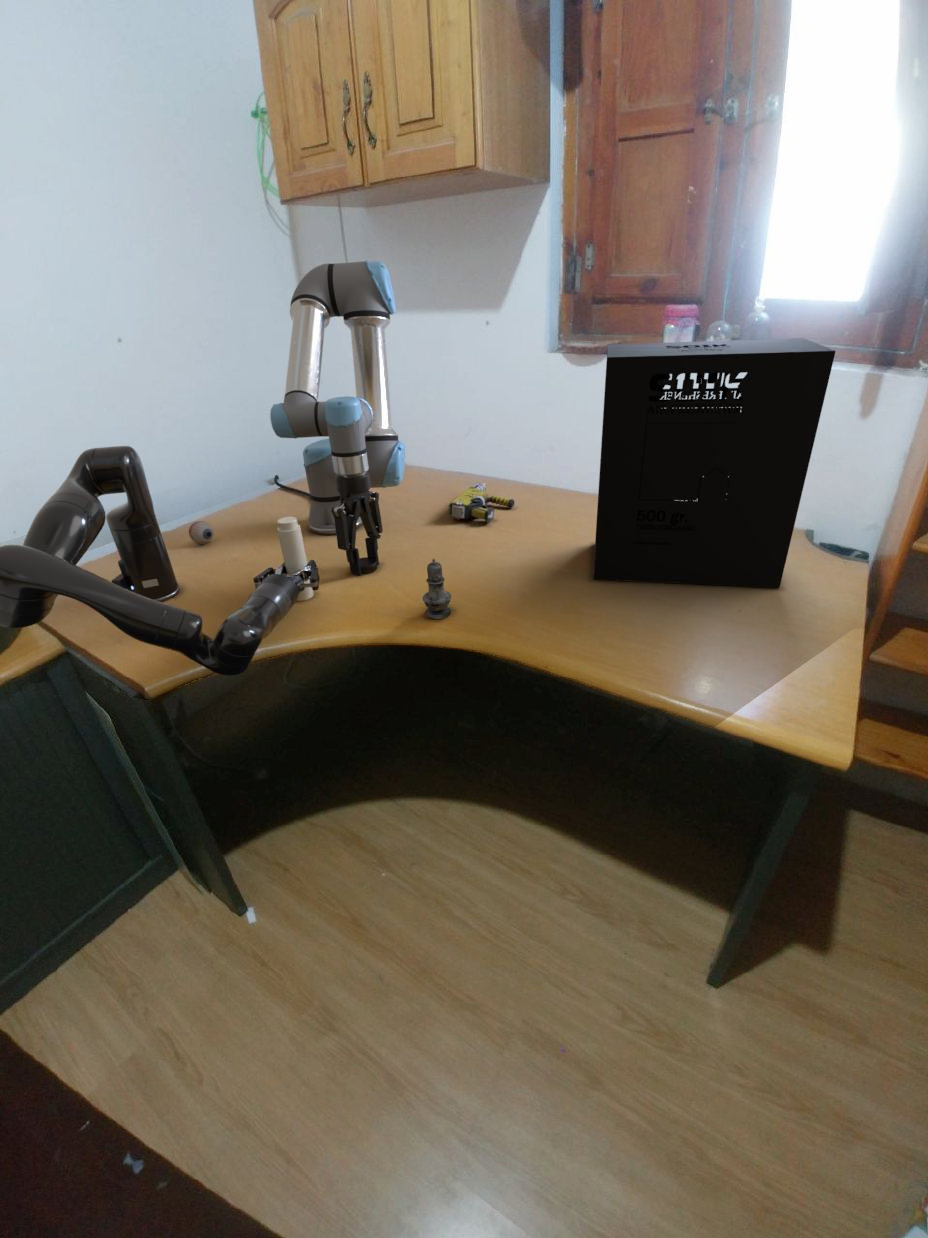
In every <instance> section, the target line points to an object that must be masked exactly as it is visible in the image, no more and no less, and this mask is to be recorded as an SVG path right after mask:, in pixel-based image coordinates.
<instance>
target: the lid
mask: <svg viewBox="0 0 928 1238" xmlns="http://www.w3.org/2000/svg"><path fill="white" fill-rule="evenodd" d="M359 558H360V565H361V572H362V575H368V574H371V573H374V572H375V571H376V570H377V569H378V566H377V562H376V560H375V559H374V558H371V557H368V556H365V557H364V556H363V557H359Z"/></svg>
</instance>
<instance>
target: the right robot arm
mask: <svg viewBox="0 0 928 1238" xmlns="http://www.w3.org/2000/svg"><path fill="white" fill-rule="evenodd" d="M395 299H396V298H395V294H394V289H393V284H392V279H391V275H390V273H389V270H388V268H387V266H386V264H385V263H384V262H382V261H378V260H377V261H369V260H365V261H352V262H350V261H349V262H338V263H335V262H334V263H323V264H320V265H317V266H315V267H314V268H312V269H310V270H309V271H308V272H307V273H306V274H305V275H304V276H303V277H302V279H300V281H299V283H298V284H297V286H296V287H295V290H294V292H293V293H292V297H291V299H290V306H289V316H290V318H291V319H290V320H292V326H291V335H290V344H289V353H288V360H287V369H286V377H285V378H286V379H285V388H284V395H283V396H284V397H283V402H279V403H275V404H272V407H271V408H270V415H269V416H270V417H269V419H270V424H271V427H272V430H273V432H274V434H275V435H276V436H277V437H278V438H281V439H300V438H301V439H302V438H317V437H319V438H320V437H324V438H325V437H328V438H325V439H324V438H323V439H320V440H316V441H314V442H312V443H309V444H308V445H306V446H305V447H304V448H303V450H302V457H303V467H304V471H305V476H306V481H307V486H308V492H307V491H304V490H300V489H297V488H294V487H291V486H287V485H284V484H282V483H279V482H278V480H279V479H280V476H279V475H278V474H276V475H274V478H273V480H274V482H273V483H274V484H275V485H276V486H277V487H279V488H282V489H284V490H287V491H290V492H294V493H297V494H300V495H304V496H307V497H309V499H310V507H309V513H308V521H307V522H308V523H307V524H308V528H309V529H308V530H310V531H311V532H312V533H314V534H317V535H323V536H324V535H325V536H327V535H329V536H331V535H336V544H337V549H338V550H341V551H345V553H346V555H345V556H346V560H347V562H348V563H349V569H350V574H351V575H355V576H362V575H363V574H362V572H361V565H360V558H361V557H360V552H359V548H357V547H356V540H357V529H359V528H361V527H362V526H363V528H364V530H365V533H366V536H367V537H365V538H364V540H365V541H364V542H365V548H366V555H367V556H366V557H371V558H374V559H375V560H376V562H377V567H378V566H379V565H380V561H379V554H378V553H379V552H378V550H379V544H378V542H379V541H378V540H380V539H381V537H382V535H381V534H382V533H383V531H384V530H383V523H382V517H381V509H380V503H379V500H380V493H379V492H377V491H372V490H371V489H377V488H382V489H386V488H393V487H398V486H399V485H401V484H402V481H403V479H404V475H405V466H406V445H405V442H404V441H401V440H399V434H398V433H397V432H396V431H395V430H394V429H393V427H392V411H391V400H390V399H391V398H390V397H391V396H390V387H389V386H390V385H389V384H390V383H389V369H388V357H387V344H386V343H387V341H386V329H387V327H389V325H390V323H391V315H393V314H395V313H396V311H397V308H396V300H395ZM334 317H336V318H339V317H342V318H343V324H344V325H345V327H347V328H348V329H349V331H350V339H351V351H352V363H353V376H354V387H355V396H337V397H332V398H329V399H327V400H326V401H319V391H320V381H321V371H322V361H323V352H324V351H323V350H324V341H325V331H326V328H327V327H328V326H329V325H330V321H331V319H332V318H334Z"/></svg>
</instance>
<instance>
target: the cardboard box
mask: <svg viewBox="0 0 928 1238" xmlns="http://www.w3.org/2000/svg"><path fill="white" fill-rule="evenodd" d="M835 356H836V350H834V349H831V348H829V347H827V346H824V345H821V344H819V343H816V342H814V341H812V340H810V339H806V338H804V337H799V338H798V337H797V338H796V337H795V338H794V337H793V338H767V339H766V338H765V339H737V340H736V339H735V340H732V339H731V340H707V341H705V340H703V341H675V342H672V341H671V342H670V341H669V342H648V343H647V342H646V343H645V342H644V343H643V342H642V343H639V342H638V343H613V344H612V343H611V344H609V343H607V349H606V363H605V364H606V365H605V367H606V368H605V381H604V396H603V411H602V412H603V413H602V429H601V444H600V445H601V446H600V461H599V477H598V479H599V480H598V494H597V507H596V508H597V509H596V511H597V512H596V523H595V524H596V525H595V538H594V539H595V540H594V559H593V561H594V562H593V579H592V580H595V581H612V582H613V581H616V582H617V581H618V582H636V583H638V582H639V583H660V584H661V583H662V584H680V585H681V584H682V585H683V584H684V585H706V586H726V587H727V586H729V587H748V588H749V587H750V588H751V587H752V588H770V589H771V588H772V589H780V588H781V583H782V579H783V575H784V571H785V567H786V562H787V558H788V554H789V550H790V545H791V542H792V539H793V538H792V537H793V533H794V529H795V524H796V521H797V516H798V512H799V507H800V505H801V504H800V503H801V499H802V495H803V491H804V488H805V487H804V486H805V483H806V478H807V475H808V474H807V473H808V469H809V465H810V461H811V457H812V452H813V450H814V449H813V448H814V444H815V441H816V437H817V431H818V428H819V423H820V420H821V415H822V410H823V407H824V402H825V398H826V393H827V389H828V385H829V381H830V377H831V372H832V368H833V365H834V360H835ZM741 373H746V374H745V375H744V377H741V378H738V376H739V374H741ZM682 374H684V378H683V381H682V385H681V386H682V388H678V385H679V384H678V383H679V379H678V377H679V376H680V375H682ZM692 374H696V378H695V379H694V378H691V376H692ZM706 374H707V378H705V375H706ZM723 375H724V376H723ZM727 377H729V378H728V381H727V382H728V385H729V384H731V385H732V384H738V385H737V387H727V385H726V379H727ZM722 379H723V380H722ZM694 384H696V385H697V384H698V387H695V388H694ZM708 384H713V388H712V387H711V388H710V387H709V388H708ZM666 386H668V387H669V388H665V387H666Z"/></svg>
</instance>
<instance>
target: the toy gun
mask: <svg viewBox="0 0 928 1238" xmlns="http://www.w3.org/2000/svg"><path fill="white" fill-rule="evenodd" d="M486 491H487V484H486V483H485V482H480V481H477V482H475V483H474V484H473V485H472V486H469V487H468V488H467V489H466V490H465V491H463V492H462V493H461V494H459V496H457V497H456V498H455V499H453V500H452V501H451V502H450V503H449V505H448V506H449V507H448V516H450V518H453V519H454V520H456V519H457V520H459V521H460V520H461V519H462V520H469V519H473V518H478V519H482V520H484V523H489V522H490V521H492V520H494V516H495V515H494V514H495V507H492V506H491V507H489V508H488V506H487V505H488V504H490V503H491V504H495V505H498V506H503V507H506V508H509V509H512V508H514V506H515V500H514V499H513V498H507V497H503V496H499V495H495V494H492V495H491V496H490V497H489V495H488V493H487V492H486Z"/></svg>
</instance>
